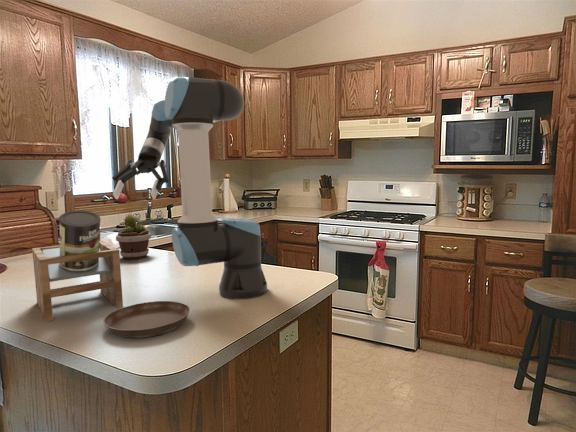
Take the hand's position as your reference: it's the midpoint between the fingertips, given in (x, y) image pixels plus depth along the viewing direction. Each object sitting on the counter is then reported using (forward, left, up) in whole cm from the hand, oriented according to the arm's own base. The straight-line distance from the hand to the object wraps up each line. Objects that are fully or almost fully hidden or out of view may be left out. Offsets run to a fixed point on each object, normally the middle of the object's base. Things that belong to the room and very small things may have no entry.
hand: (133, 196), depth 143 cm
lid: (-13, +21, -17) cm, 30 cm away
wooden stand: (-14, +21, -30) cm, 39 cm away
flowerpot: (+41, -11, -30) cm, 52 cm away
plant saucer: (-43, +10, -30) cm, 53 cm away
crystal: (+75, -13, -30) cm, 82 cm away
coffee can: (-15, +21, -17) cm, 31 cm away
